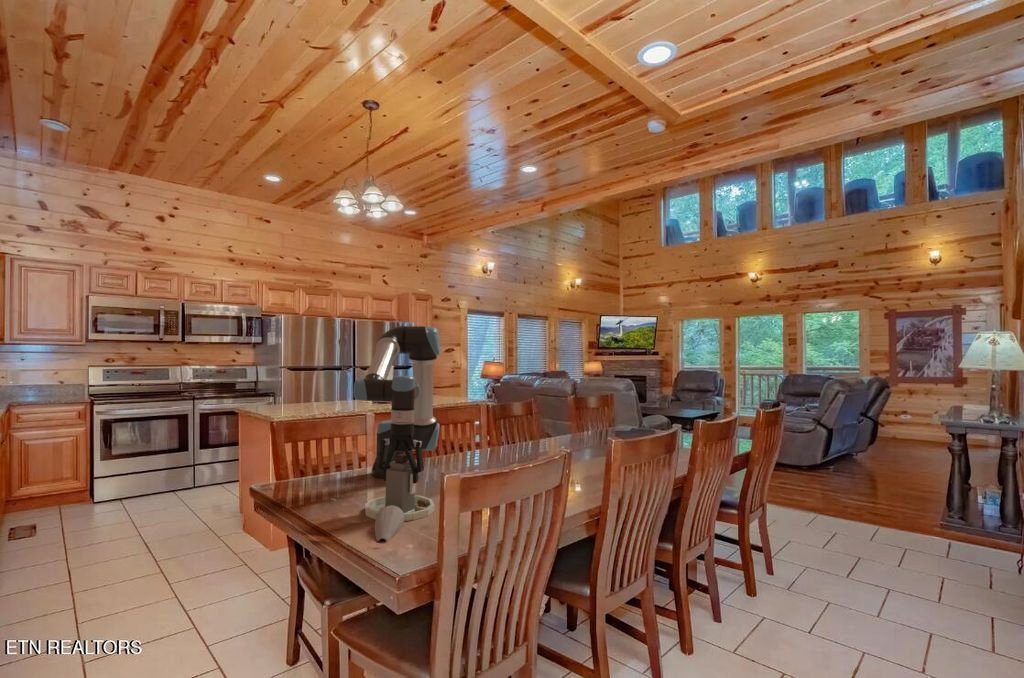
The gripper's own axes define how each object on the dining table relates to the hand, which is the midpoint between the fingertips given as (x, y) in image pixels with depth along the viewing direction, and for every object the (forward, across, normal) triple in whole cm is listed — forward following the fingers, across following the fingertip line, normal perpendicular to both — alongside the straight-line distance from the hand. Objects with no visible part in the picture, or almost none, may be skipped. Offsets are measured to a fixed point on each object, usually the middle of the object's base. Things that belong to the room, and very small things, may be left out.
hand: (400, 491), depth 170 cm
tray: (+7, 0, 0) cm, 7 cm away
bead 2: (+6, +8, -2) cm, 10 cm away
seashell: (+7, +5, -19) cm, 21 cm away
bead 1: (+6, +5, +6) cm, 10 cm away
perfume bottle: (+6, 0, 0) cm, 6 cm away
